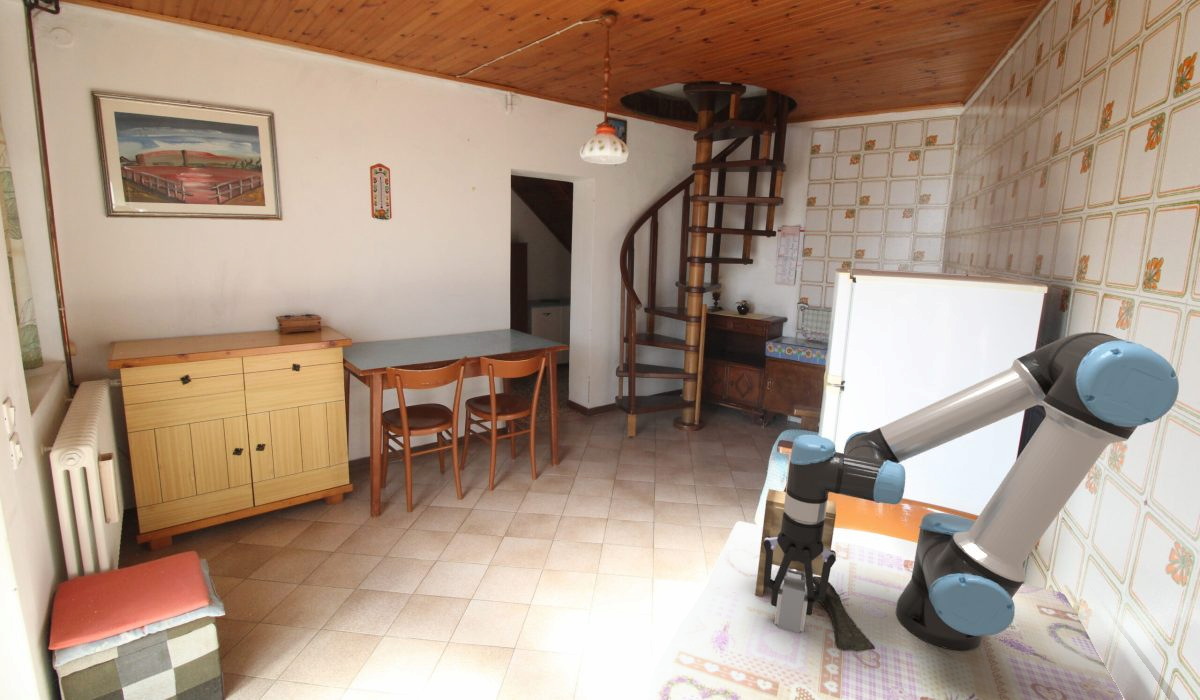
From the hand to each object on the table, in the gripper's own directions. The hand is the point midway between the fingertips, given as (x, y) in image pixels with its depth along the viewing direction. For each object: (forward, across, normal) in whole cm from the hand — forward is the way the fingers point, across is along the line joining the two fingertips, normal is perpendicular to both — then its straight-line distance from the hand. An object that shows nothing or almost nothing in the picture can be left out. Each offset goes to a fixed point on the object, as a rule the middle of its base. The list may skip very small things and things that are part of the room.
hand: (789, 623), depth 115 cm
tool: (+1, -10, -7) cm, 12 cm away
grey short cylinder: (0, 0, -18) cm, 18 cm away
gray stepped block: (0, 0, -7) cm, 7 cm away
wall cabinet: (0, 0, -10) cm, 10 cm away
